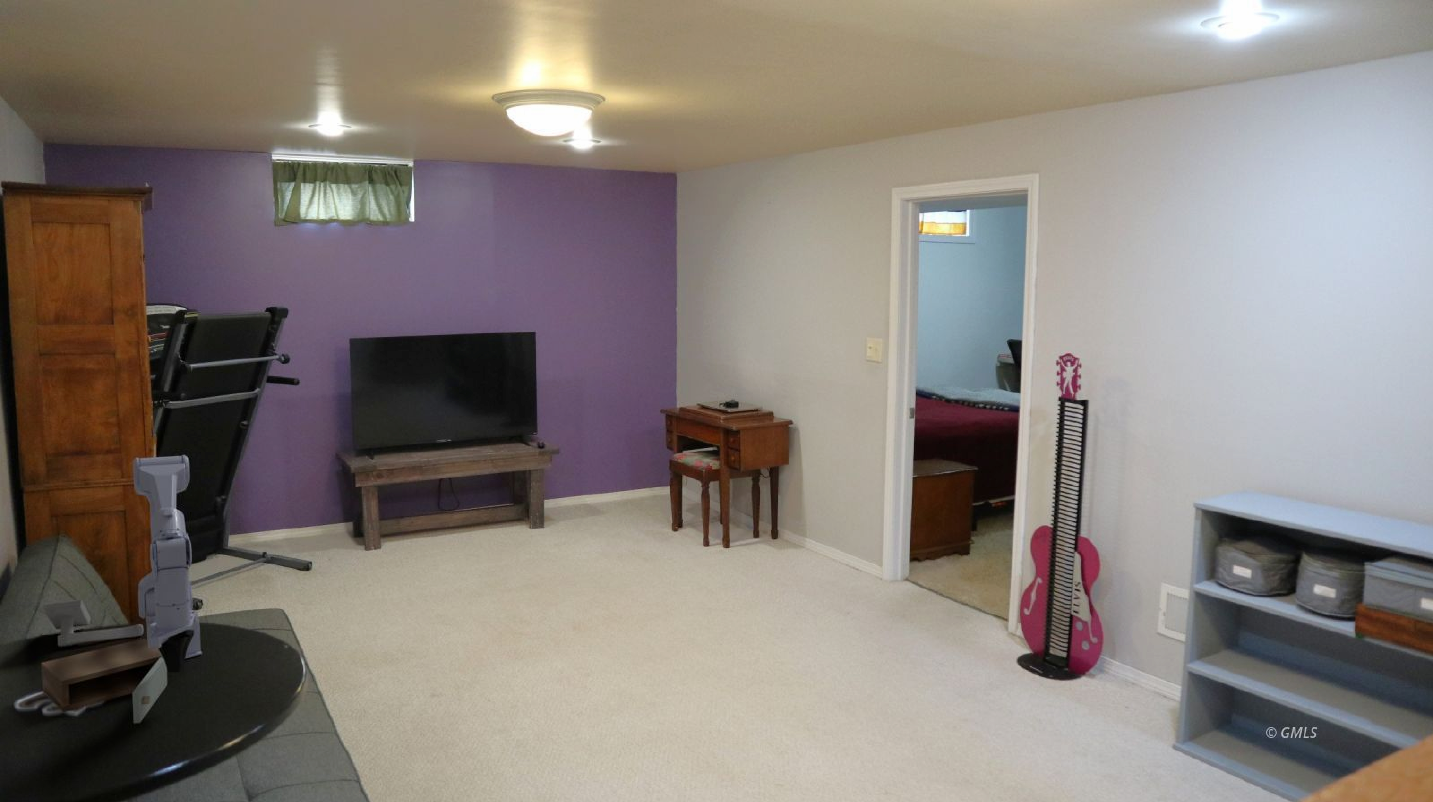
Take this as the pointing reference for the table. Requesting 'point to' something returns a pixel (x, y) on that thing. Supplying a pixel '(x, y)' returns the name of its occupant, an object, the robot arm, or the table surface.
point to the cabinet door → (149, 690)
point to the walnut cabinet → (98, 674)
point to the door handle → (82, 624)
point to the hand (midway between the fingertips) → (175, 670)
